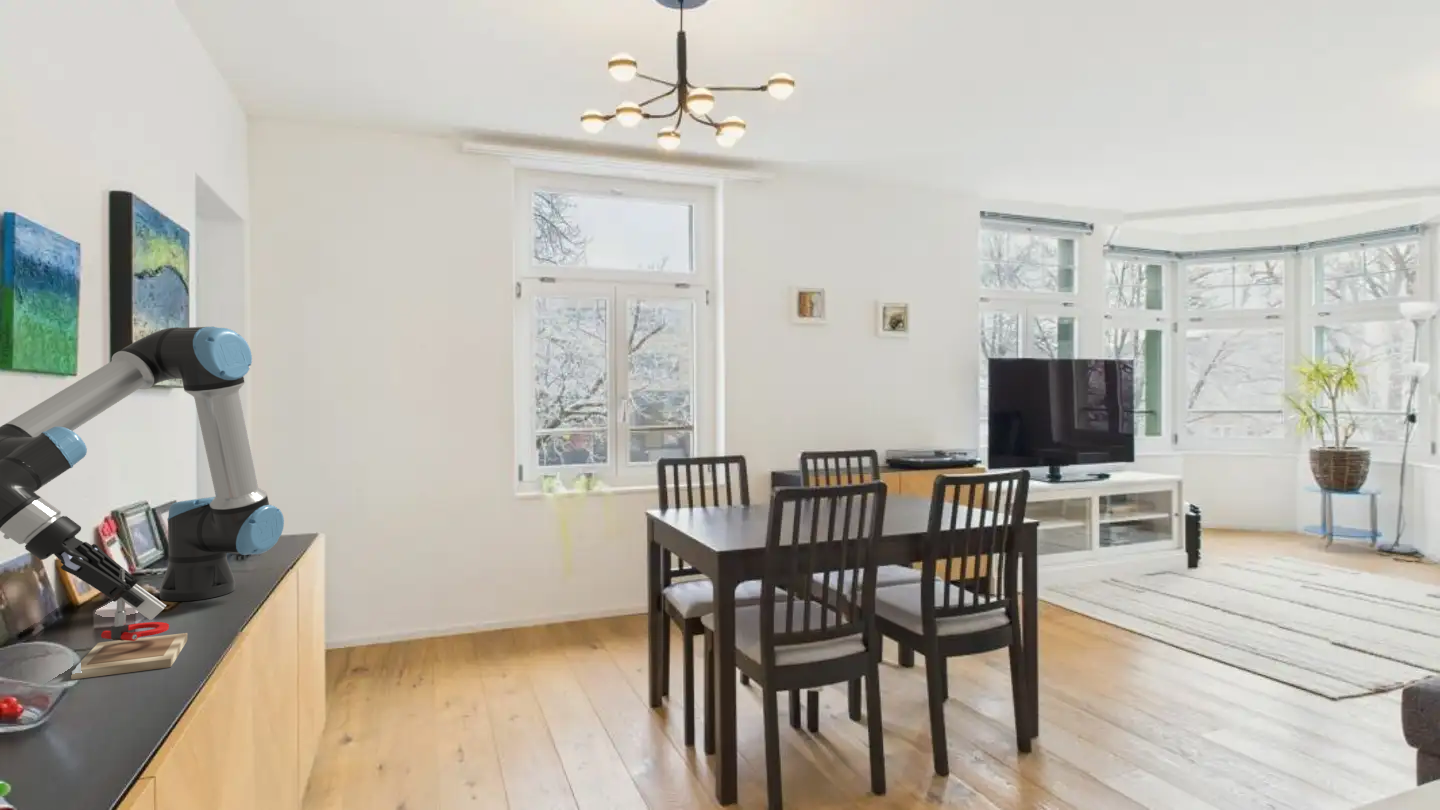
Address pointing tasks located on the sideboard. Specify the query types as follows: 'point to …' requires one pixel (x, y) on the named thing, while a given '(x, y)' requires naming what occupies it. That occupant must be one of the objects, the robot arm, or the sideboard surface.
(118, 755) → the sideboard surface
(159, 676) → the sideboard surface
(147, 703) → the sideboard surface
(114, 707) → the sideboard surface
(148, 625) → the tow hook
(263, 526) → the robot arm
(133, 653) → the wooden tray
